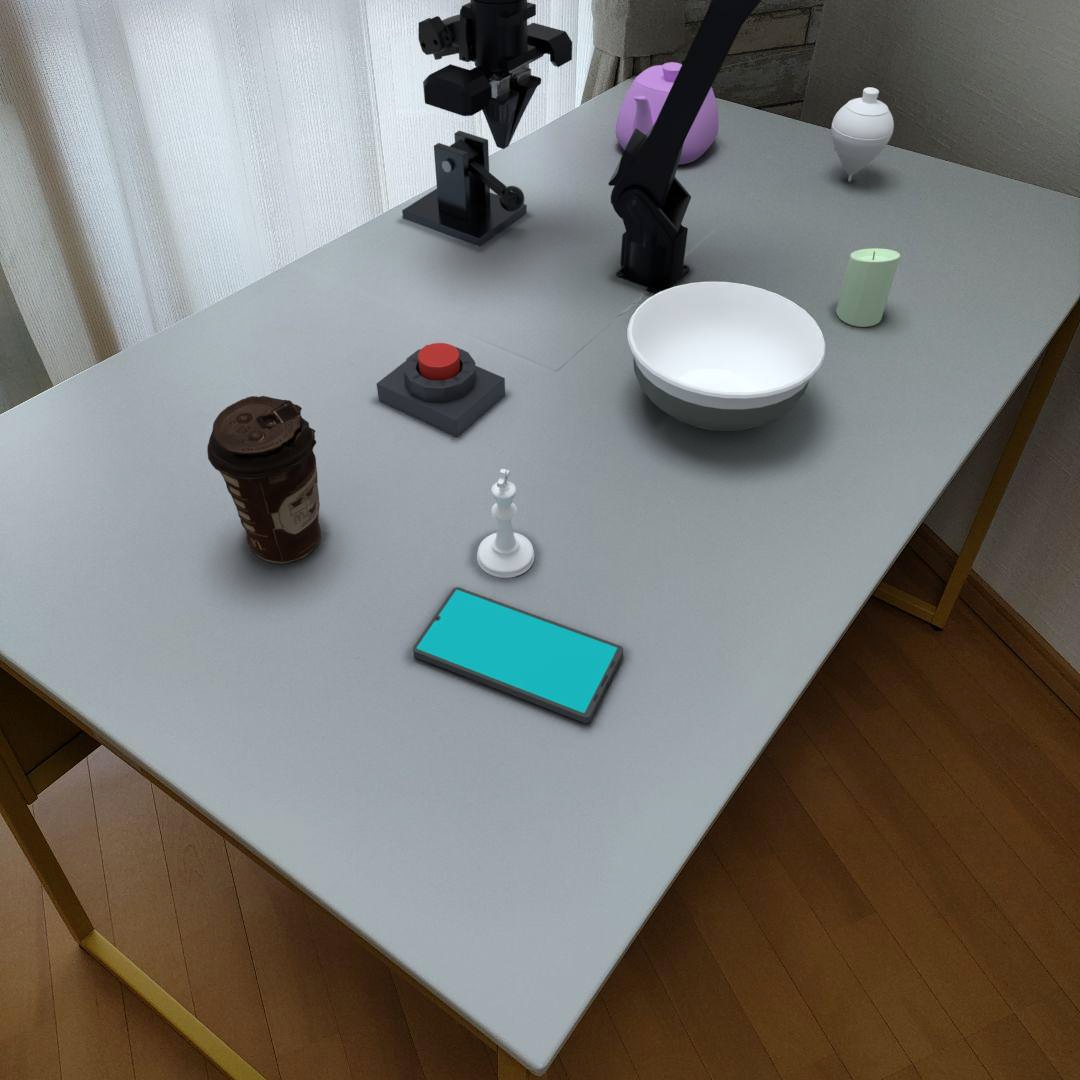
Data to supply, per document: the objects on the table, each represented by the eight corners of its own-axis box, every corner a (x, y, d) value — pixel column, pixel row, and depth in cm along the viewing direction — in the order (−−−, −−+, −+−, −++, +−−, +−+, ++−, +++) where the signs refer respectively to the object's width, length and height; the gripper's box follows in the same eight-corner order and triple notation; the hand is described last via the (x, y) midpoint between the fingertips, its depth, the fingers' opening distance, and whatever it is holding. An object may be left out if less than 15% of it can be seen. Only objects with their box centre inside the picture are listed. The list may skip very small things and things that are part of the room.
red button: (468, 366, 98) (467, 351, 97) (443, 386, 96) (441, 372, 95) (436, 352, 100) (435, 337, 98) (411, 372, 97) (409, 357, 96)
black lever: (524, 210, 121) (532, 192, 118) (510, 221, 119) (518, 202, 117) (457, 155, 122) (464, 135, 119) (442, 164, 120) (448, 144, 117)
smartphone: (588, 718, 73) (411, 649, 77) (588, 725, 74) (412, 656, 78) (625, 646, 78) (455, 585, 82) (624, 652, 78) (456, 591, 83)
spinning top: (834, 162, 136) (855, 72, 127) (887, 178, 133) (912, 86, 124) (810, 184, 132) (829, 92, 123) (864, 200, 129) (888, 107, 120)
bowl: (830, 460, 94) (851, 391, 88) (634, 469, 93) (641, 399, 87) (783, 344, 107) (798, 277, 101) (611, 350, 106) (615, 283, 100)
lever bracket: (527, 215, 126) (526, 139, 119) (479, 249, 120) (476, 172, 113) (452, 189, 130) (447, 115, 123) (402, 221, 125) (394, 145, 118)
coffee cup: (347, 508, 89) (325, 393, 80) (325, 577, 84) (298, 462, 74) (253, 501, 90) (220, 386, 81) (224, 569, 84) (185, 454, 75)
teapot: (586, 166, 135) (589, 83, 127) (651, 112, 147) (658, 32, 139) (676, 190, 130) (685, 105, 122) (735, 132, 142) (747, 51, 134)
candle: (827, 306, 112) (843, 240, 106) (866, 299, 113) (884, 233, 107) (850, 331, 109) (868, 264, 103) (890, 323, 110) (910, 256, 104)
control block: (505, 395, 101) (504, 363, 98) (457, 437, 96) (454, 405, 93) (428, 361, 105) (425, 329, 102) (378, 400, 100) (373, 368, 97)
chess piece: (542, 543, 87) (542, 458, 79) (523, 584, 83) (521, 498, 76) (489, 530, 88) (485, 444, 80) (468, 569, 84) (462, 484, 77)
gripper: (491, -46, 107) (496, 100, 119) (374, 4, 97) (391, 158, 108) (577, -25, 103) (573, 124, 114) (463, 29, 93) (471, 187, 104)
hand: (502, 147), depth 110 cm, fingers closed
